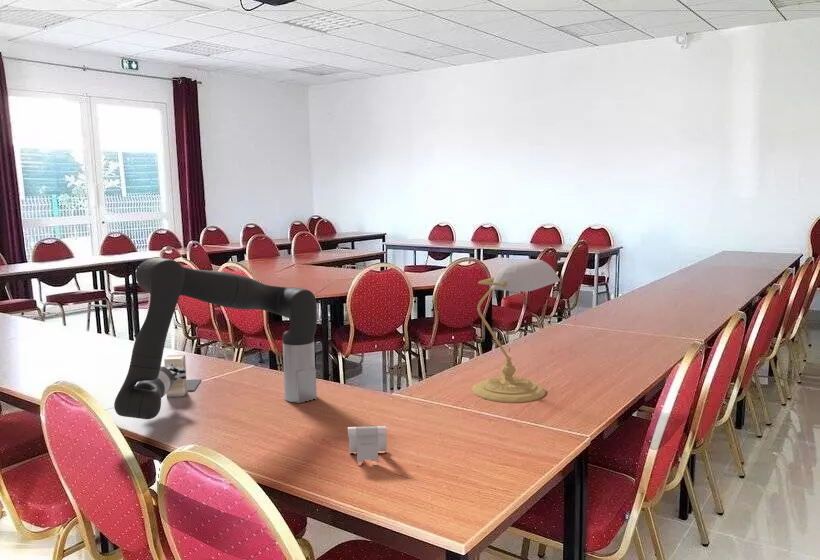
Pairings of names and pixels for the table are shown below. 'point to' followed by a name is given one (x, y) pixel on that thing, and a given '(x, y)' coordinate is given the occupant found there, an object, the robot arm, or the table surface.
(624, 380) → the table surface
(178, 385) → the birch block
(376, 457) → the portable electronic device stand
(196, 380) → the gray rectangular block
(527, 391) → the desk lamp
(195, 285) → the robot arm
